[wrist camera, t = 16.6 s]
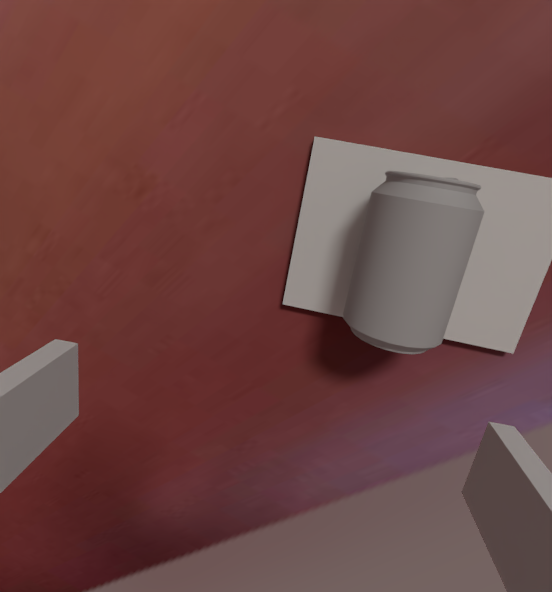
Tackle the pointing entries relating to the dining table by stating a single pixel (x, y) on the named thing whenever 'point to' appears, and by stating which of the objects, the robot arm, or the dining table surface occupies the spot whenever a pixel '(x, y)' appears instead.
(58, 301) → the dining table surface
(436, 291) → the can
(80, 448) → the dining table surface
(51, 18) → the dining table surface
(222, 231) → the dining table surface
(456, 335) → the placemat
